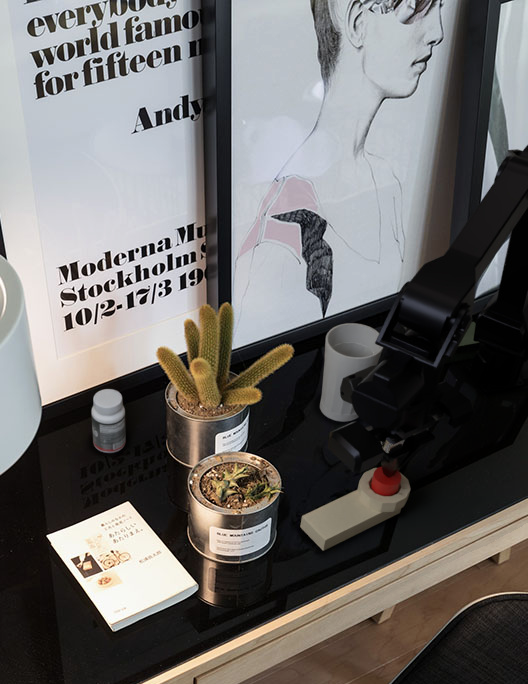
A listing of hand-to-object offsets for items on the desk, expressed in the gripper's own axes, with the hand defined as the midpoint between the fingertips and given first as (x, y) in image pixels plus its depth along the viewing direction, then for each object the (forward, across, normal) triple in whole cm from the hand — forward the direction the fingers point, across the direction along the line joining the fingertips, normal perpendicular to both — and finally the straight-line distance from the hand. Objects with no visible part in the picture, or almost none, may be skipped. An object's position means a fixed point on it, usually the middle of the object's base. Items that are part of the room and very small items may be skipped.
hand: (387, 474), depth 124 cm
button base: (+6, +5, 0) cm, 8 cm away
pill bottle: (+6, +25, -30) cm, 40 cm away
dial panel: (+6, -28, -21) cm, 35 cm away
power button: (+2, 0, 0) cm, 2 cm away
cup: (+6, -8, -19) cm, 21 cm away
